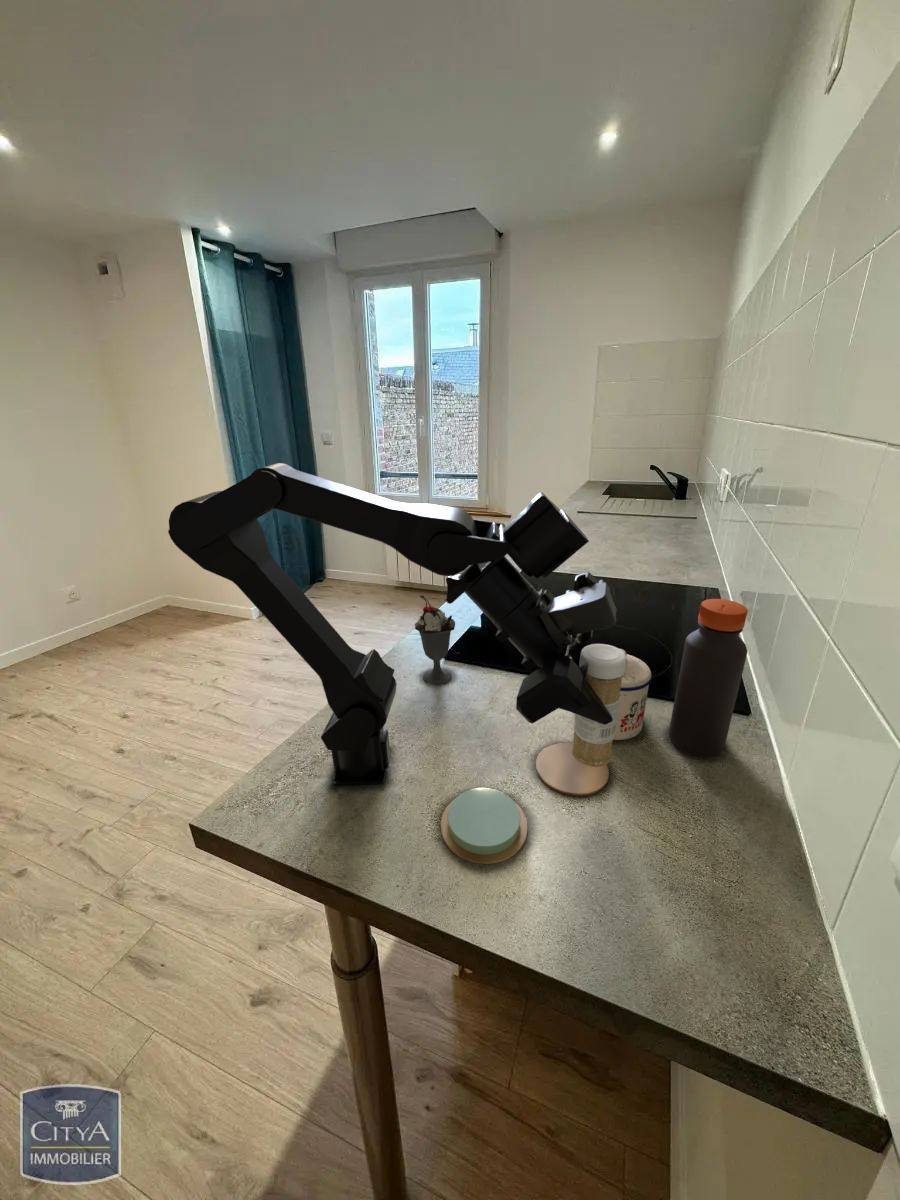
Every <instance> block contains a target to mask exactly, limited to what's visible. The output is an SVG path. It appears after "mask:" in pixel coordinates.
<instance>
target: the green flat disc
mask: <svg viewBox="0 0 900 1200" xmlns="http://www.w3.org/2000/svg"><path fill="white" fill-rule="evenodd" d="M452 801H453V802H452ZM452 801H451V802H452V803H451V802H450V803H451V805H450V807H449V810H448V829H449V833H450V835H451V837H452V838H453V840H454V841H455V842H456V843H457V844H458V845H459V846H460V847H462V848H463V849H465V850H467V851H469V852H472V853H475V854H481V855H490V854H496V853H499V852H502V851H504V850H506V849H507V848H509V847H510V846H511V845H512V844H513V843H514V842H515V840H516V839H517V837H518V835H519V831H520V812H519V809H518V807H517V805H516V804H515V803H516V801H515V800H514V799H513V798H512V797H510V796H509V795H508V794H506V793H504V792H503V791H500V790H497V789H495V788H490V787H476V788H475V787H474V788H471V789H467V790H466V791H464V792H461V793H459V794H458V795H457V796H456V797H455V798H454V799H453V800H452Z"/></svg>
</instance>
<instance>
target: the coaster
mask: <svg viewBox="0 0 900 1200" xmlns="http://www.w3.org/2000/svg"><path fill="white" fill-rule="evenodd" d="M572 744H573V742H559V743H554V744H551V745H548V746H546V747H545V748H543V749H542V750H541V751H540V752H539V753H538V754H537V757H536V759H535V769H536V772H537V773H536V774H538V776H539V778H540V779H541V781H542V782H543V783H544V784H546V785H547V786H548V787H550V788H551V789H552V790H555V791H557V792H560V793H562V794H565V795H569V796H570V795H571V796H589V795H593V794H595V793H598V792H599V791H601V790H602V789H603V788H604V787H605V786H606V785H607V783H608V781H609V776H610V771H609V767H608V765H607V764H606V765H604V766H601V767H591V766H587V765H584V764H582V763H580V762H579V761H578V760H576V759H575V757H574V756H573V755H572V751H571V747H572Z"/></svg>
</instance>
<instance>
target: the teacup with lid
mask: <svg viewBox="0 0 900 1200" xmlns="http://www.w3.org/2000/svg"><path fill="white" fill-rule="evenodd" d="M619 649H620V650H621V651H623V652H624V654H625V655H626V666H625V672H624V674H623V677H622V681H621V687H620V701H619V708H618V715H617V722H616V729H615V735H614V738H613V741H623V740H630V739H632V738H634V737H636V736H637V735H639V734H640V732H641V731H642V729H643V724H644V719H645V713H646V712H645V711H646V705H647V698H648V694H649V693H648V692H649V687H650V684H651V683H652V680H653V675H652V671H651V669H650V667H649V666H648V665H647V664H646V663H645V661H643V660H641V659H640V658H638V657H636V656H634V655H630V654H628V653H627V652H626V650H625V649H622V648H619Z"/></svg>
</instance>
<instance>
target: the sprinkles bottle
mask: <svg viewBox="0 0 900 1200" xmlns="http://www.w3.org/2000/svg"><path fill="white" fill-rule="evenodd" d="M620 649H621V648H619V647H617V646H614V645H611V644H605V643H591V645H588V646H585V647H584V648H583V649H582V650H581V655H580V663H579V666H580V667H581V666H582V665H584V664H586V663H587V662H588V673H587V681H588V683H589V684H590V686H591V687H592V689H593V690H594V691H595V693H596V694H597V696H598V697H599V698H600V700H601V701H602V703H603V704H604V705H605V707H606V708H607V710H608V711H609V713H610V715H611V716H612V718H613V720H612V722H610V723H608V724H606V725H604V724H601V723H598V722H596V721H593V720H590V719H588V718H585V717H583V716H580V715H577V714H575V713H574V724H573V740H572V747H571V751H572V755H573V756H574V757H575V759H576V760H578V761H579V762H580V763H582V764H584V765H587V766H591V767H601V766H604V765H606V764H609V763H610V762H611V760H612V756H613V754H612V748H613V742H614V740H613V738H614V735H615V729H616V722H617V715H618V708H619V701H620V687H621V681H622V677H623V674H624V672H625V666H626V655H625V654H624V652H623V651H621V650H620Z"/></svg>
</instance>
